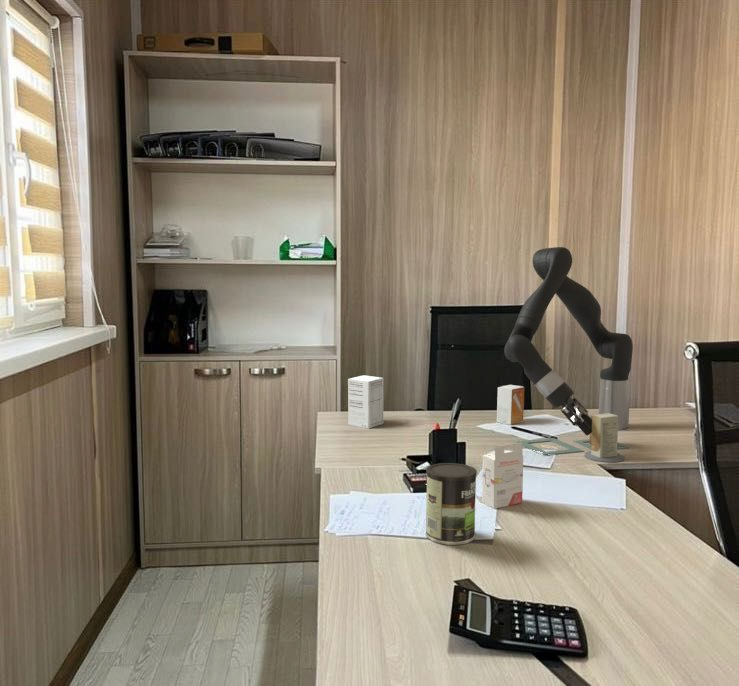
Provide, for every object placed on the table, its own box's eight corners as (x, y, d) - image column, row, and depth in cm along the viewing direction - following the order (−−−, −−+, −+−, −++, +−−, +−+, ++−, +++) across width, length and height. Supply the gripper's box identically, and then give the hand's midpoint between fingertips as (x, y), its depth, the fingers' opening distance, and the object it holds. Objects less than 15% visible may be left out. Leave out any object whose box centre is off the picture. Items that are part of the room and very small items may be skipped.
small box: (510, 425, 238) (512, 389, 236) (496, 422, 242) (497, 386, 241) (523, 421, 243) (524, 386, 242) (509, 419, 248) (510, 384, 247)
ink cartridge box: (509, 497, 163) (511, 437, 162) (522, 503, 159) (524, 442, 157) (480, 502, 159) (482, 441, 158) (493, 509, 155) (495, 447, 153)
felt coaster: (607, 451, 205) (607, 449, 204) (632, 461, 194) (632, 458, 194) (576, 454, 201) (576, 452, 201) (600, 464, 191) (600, 462, 191)
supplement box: (363, 420, 245) (363, 374, 243) (384, 423, 240) (384, 377, 238) (347, 425, 237) (347, 378, 235) (368, 429, 232) (368, 380, 230)
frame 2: (604, 439, 219) (604, 437, 219) (629, 448, 208) (629, 447, 208) (573, 442, 215) (573, 440, 215) (596, 451, 204) (596, 450, 204)
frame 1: (553, 439, 219) (553, 437, 219) (583, 451, 204) (583, 450, 204) (515, 442, 214) (515, 441, 214) (543, 455, 199) (543, 454, 199)
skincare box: (607, 452, 201) (609, 412, 199) (617, 456, 197) (619, 415, 195) (589, 454, 198) (591, 414, 197) (599, 458, 194) (601, 417, 193)
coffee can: (482, 532, 141) (484, 467, 140) (462, 549, 133) (464, 480, 131) (438, 522, 147) (439, 459, 145) (416, 538, 138) (417, 471, 136)
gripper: (559, 384, 194) (598, 427, 190) (567, 377, 207) (605, 418, 203) (539, 400, 197) (578, 443, 193) (549, 393, 210) (586, 433, 206)
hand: (592, 430), depth 198 cm, fingers open, 8 cm apart
